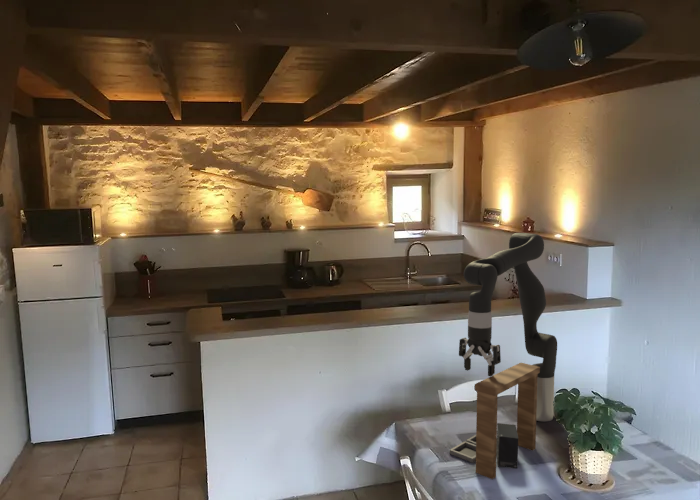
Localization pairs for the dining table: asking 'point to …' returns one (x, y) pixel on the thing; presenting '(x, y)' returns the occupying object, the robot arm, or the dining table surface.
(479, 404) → the tunnel
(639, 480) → the dining table surface
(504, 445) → the small box
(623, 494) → the dining table surface
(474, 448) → the tray
